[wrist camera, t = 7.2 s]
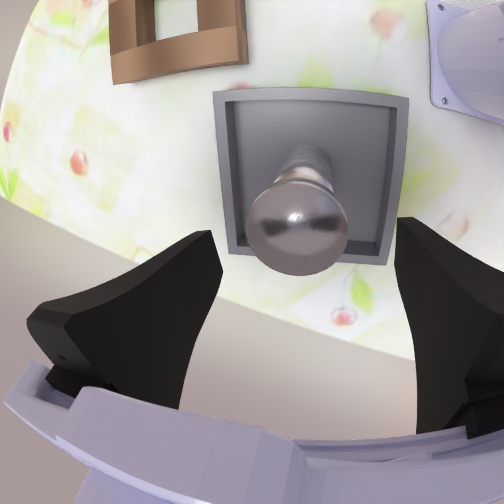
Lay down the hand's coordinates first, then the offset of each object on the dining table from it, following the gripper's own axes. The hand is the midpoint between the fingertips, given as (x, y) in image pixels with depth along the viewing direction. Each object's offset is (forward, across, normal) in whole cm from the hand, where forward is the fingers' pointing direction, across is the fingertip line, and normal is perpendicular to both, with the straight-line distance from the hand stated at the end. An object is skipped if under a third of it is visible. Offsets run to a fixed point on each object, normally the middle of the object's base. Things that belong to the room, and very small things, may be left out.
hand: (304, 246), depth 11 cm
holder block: (+10, +7, -13) cm, 18 cm away
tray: (+10, 0, 0) cm, 10 cm away
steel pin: (+9, 0, 0) cm, 9 cm away
